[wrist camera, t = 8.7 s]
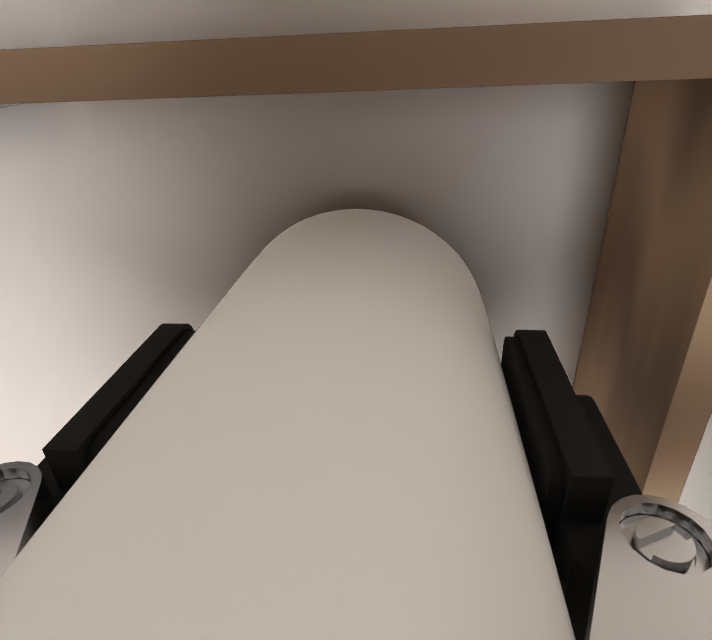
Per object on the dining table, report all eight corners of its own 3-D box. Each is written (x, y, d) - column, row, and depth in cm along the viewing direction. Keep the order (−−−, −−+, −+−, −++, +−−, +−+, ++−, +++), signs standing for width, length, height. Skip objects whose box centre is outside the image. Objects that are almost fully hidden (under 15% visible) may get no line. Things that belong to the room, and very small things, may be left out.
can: (313, 439, 16) (96, 1240, 5) (199, 263, 13) (-704, 1120, 3) (516, 376, 14) (850, 1454, 3) (428, 156, 11) (613, 1787, 1)
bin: (69, 57, 13) (-115, 55, 8) (683, 28, 11) (861, 7, 7) (177, 457, 19) (106, 577, 15) (578, 476, 17) (635, 618, 13)
